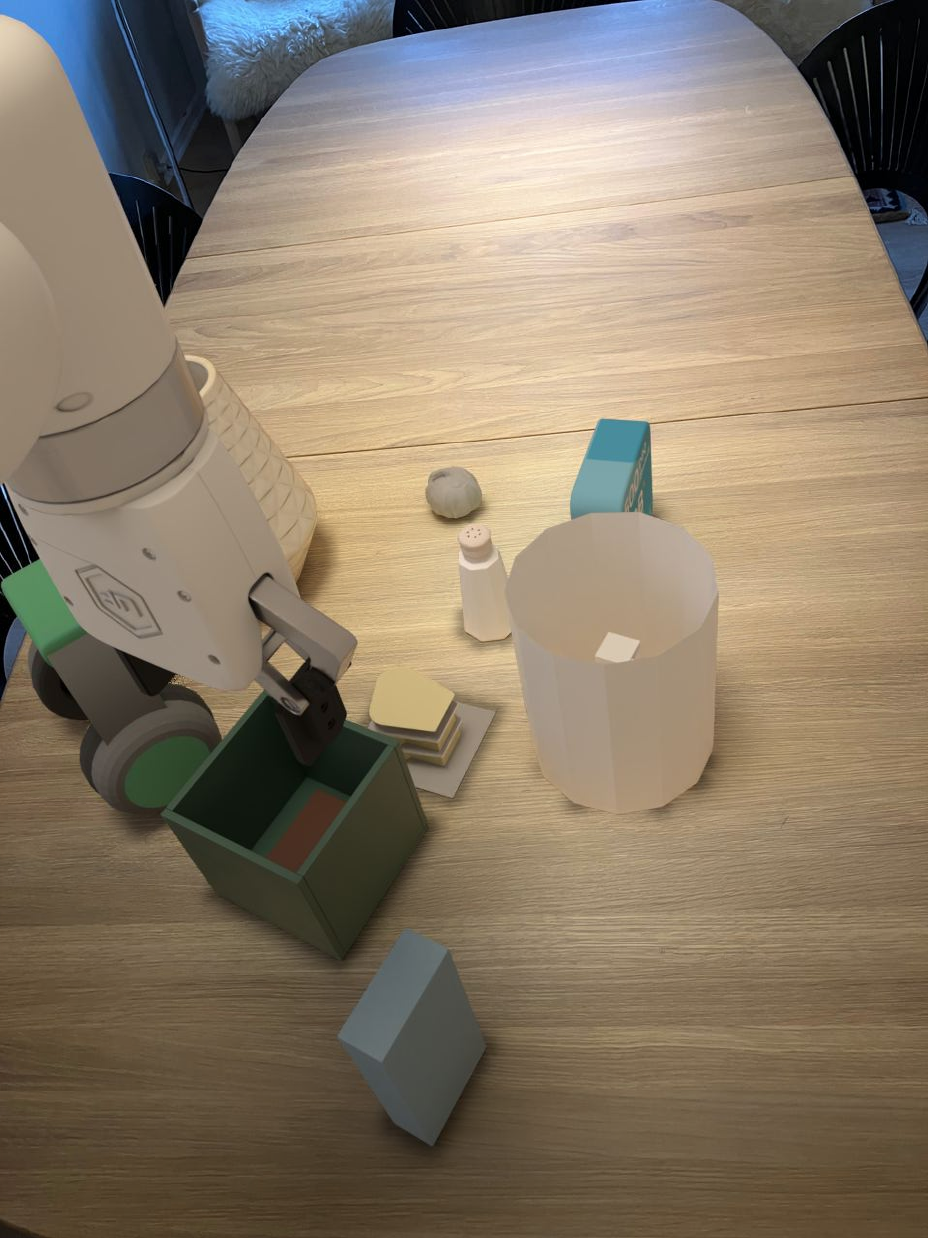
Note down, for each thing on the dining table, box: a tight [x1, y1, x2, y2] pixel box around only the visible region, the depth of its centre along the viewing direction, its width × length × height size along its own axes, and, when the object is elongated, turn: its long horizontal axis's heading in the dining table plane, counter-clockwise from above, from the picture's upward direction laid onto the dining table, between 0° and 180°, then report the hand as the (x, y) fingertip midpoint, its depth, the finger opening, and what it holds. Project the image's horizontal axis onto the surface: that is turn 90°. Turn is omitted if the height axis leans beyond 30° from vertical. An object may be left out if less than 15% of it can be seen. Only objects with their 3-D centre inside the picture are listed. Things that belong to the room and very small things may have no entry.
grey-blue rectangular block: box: [336, 927, 487, 1147], centre depth 62 cm, size 7×3×15 cm, turn 149°
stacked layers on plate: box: [367, 665, 497, 799], centre depth 85 cm, size 10×9×6 cm
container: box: [504, 512, 720, 815], centre depth 77 cm, size 14×14×18 cm
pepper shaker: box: [457, 523, 512, 643], centre depth 90 cm, size 5×5×11 cm
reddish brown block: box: [266, 789, 347, 874], centre depth 79 cm, size 7×4×4 cm, turn 149°
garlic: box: [424, 465, 483, 519], centre depth 104 cm, size 6×5×5 cm
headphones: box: [0, 558, 223, 816], centre depth 84 cm, size 19×11×20 cm, turn 36°
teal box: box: [569, 418, 654, 520], centre depth 93 cm, size 12×4×12 cm, turn 162°
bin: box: [160, 688, 430, 962], centre depth 76 cm, size 12×12×12 cm
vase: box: [183, 354, 318, 584], centre depth 95 cm, size 17×17×23 cm
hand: (243, 706), depth 49 cm, fingers open, 9 cm apart
